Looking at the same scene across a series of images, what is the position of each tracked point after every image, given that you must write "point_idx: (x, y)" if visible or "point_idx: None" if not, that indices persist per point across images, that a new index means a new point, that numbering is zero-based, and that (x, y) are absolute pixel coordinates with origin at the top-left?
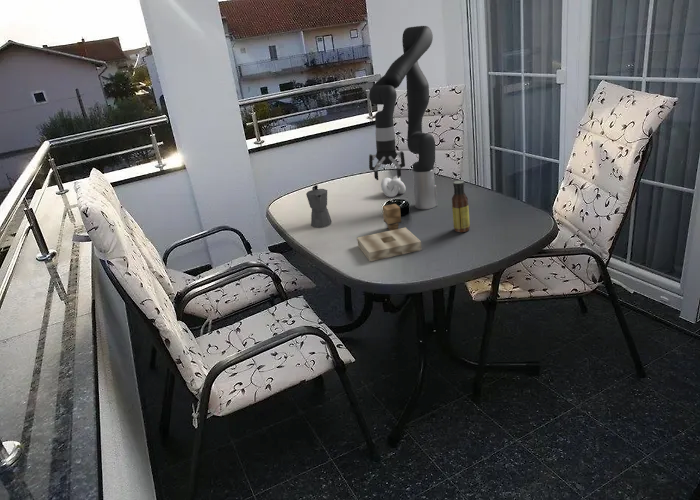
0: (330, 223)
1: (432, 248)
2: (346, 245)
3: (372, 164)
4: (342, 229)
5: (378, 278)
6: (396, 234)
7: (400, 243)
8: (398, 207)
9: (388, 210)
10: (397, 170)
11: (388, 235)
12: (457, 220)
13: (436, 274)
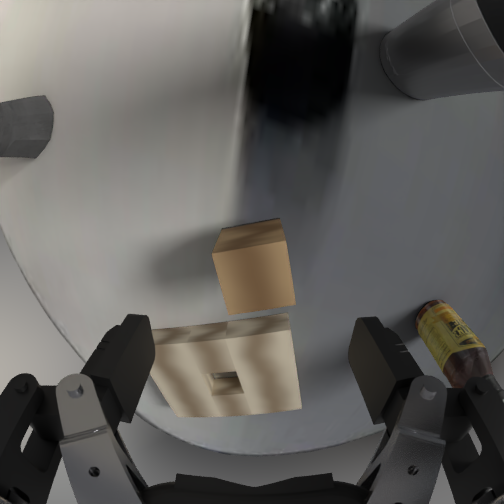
0: (50, 132)
1: (325, 389)
2: (113, 316)
3: (53, 477)
4: (83, 189)
5: (200, 439)
6: (250, 366)
7: (251, 407)
8: (289, 300)
9: (236, 312)
10: (370, 414)
11: (226, 365)
12: (429, 350)
13: (292, 447)
